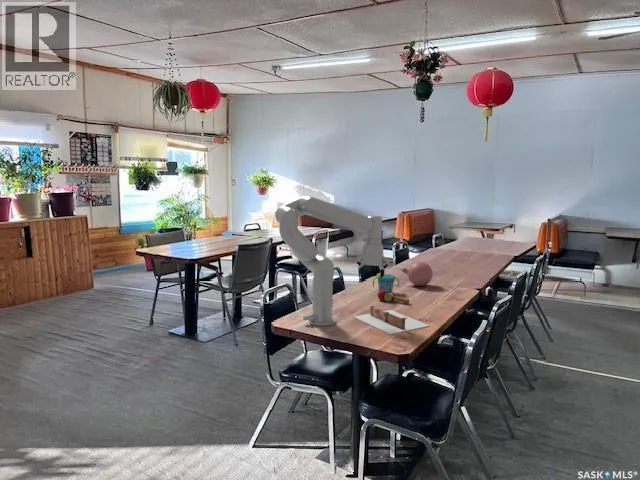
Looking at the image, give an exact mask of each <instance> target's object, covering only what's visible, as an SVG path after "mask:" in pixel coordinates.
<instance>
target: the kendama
mask: <svg viewBox="0 0 640 480" xmlns="http://www.w3.org/2000/svg"><path fill="white" fill-rule="evenodd" d="M377 298H378V299H379V300H380V301H383V302H391V301H393V302H394V301H397V302H399V303H402V304H405V305H409V303H410V299H409V298H405V297H401V296H397V294H396V292H394V291H392V292H390V293H388V292H387V291H386V290H381V291H379V290H378V293H377Z"/></svg>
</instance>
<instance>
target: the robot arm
mask: <svg viewBox="0 0 640 480" xmlns="http://www.w3.org/2000/svg"><path fill="white" fill-rule="evenodd" d="M274 215H275V220H276V221H277V222H278V223H279V225H278V227H279V228H278V229H279V230H278V231H279V235H280V237H281V239H282V241H283V242H284V244H286V245H287V247H289V249H291V251H292V254H293V255H294V256H295V258H296V259H297V260H298V261H300V263H301V264H302V265H303V266H305V268H307V269H308V270H309V271H310V272H312V273H313V277H312V285H311V286H312V290H311V291H312V312H310V314H309V315H305V316H303V317H302V318H303V321H308V322H309V324H310V325H313V326H317V327H318V326H320V327H325V326H327V327H328V326H332V325H334V324H336V323H337V319H336V318H334V317H333V302H334V301H333V297H334V296H333V294H334V293H333V289H334V288H333V287H334V286H333V285H334V284H333V283H334V274H335V266H334V262H333V261H332V260H331V259H330V258H329V257H327V256H325V255H323V254H322V253H320V251H318V249H317V247H316V246H315V244H314V243H313V242H312V241H310V240H309V239H308V237H306V236H305V235H304V233H303V232H302V231H300V229H299V227H298V221H299V218H301V217H303V216H305V215H306V216H310V217H312V218H316V219H318V220H321V221H323V222H327V223H331V224H333V225H338V226H341V227H345V228H346V227H347V228H348V229H352V230H354V231H355V232H360V233H365V237H364V238H362V241H363V242H365V243H363V246H362V253H361V255H359V256H357V257H355V258H354V260H355V262H356V264H357V265H358V266H359V268H360V269H359V274H360V276H364V275H365V265H367V266H375V267H376V266H379V267H380V274H379V275H380V277H381V278H382V277H383V276H384V274H385V271H386V270H385V269H386V268H387V267H389V266H390V263H391V260H390V259H388V258H387V257H385V255H384V247H383V243H382V234H383V233H382V232H383V230H382V229H383V217H382V216H380V215H369V216H368V215H363V214H361V213H358V212H355V211H351V210H349V209H346V208H344V207H342V206H339V205H337V204H333V203H330V202H328V201H325V200H322V199H319V198H317V197H314V196H310V195H309V196H308V195H303V196H300V197H298V198H297V199H294V200H292V201H290V202H287V203H285V204H283V205H281V206H279V207H278V208H277V209H276V211H275V214H274ZM360 260H361V261H360ZM384 262H386V263H385V265H384Z"/></svg>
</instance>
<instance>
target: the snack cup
mask: <svg viewBox="0 0 640 480" xmlns="http://www.w3.org/2000/svg"><path fill="white" fill-rule="evenodd" d="M376 279H377V284H378V285H377V286H378V292H379V291H381V290H386V291H387V292H388V293H390V292H393V289H394V283H395V280H397V288H399V287H400V280H399V278H398V277H396V276H395V275H393V274H389V273H388V274H387V273H384V276H383V277H382V278H381V277H380V274H377V275H376V276H375V277H374V278H373V279H372V287H373V288H375V280H376Z"/></svg>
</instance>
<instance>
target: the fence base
mask: <svg viewBox="0 0 640 480" xmlns="http://www.w3.org/2000/svg"><path fill="white" fill-rule="evenodd" d="M385 322H388V323H389V324H392V325H394V326H396V327H399V328H401V329H405V319H402V318H400V317H397V316H395V315H392V314H390V313H389V312H385Z"/></svg>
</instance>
